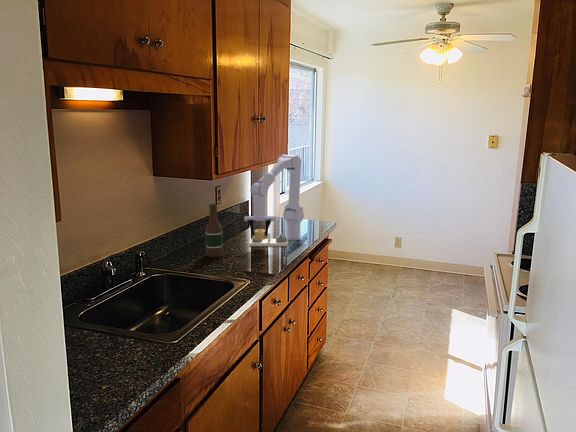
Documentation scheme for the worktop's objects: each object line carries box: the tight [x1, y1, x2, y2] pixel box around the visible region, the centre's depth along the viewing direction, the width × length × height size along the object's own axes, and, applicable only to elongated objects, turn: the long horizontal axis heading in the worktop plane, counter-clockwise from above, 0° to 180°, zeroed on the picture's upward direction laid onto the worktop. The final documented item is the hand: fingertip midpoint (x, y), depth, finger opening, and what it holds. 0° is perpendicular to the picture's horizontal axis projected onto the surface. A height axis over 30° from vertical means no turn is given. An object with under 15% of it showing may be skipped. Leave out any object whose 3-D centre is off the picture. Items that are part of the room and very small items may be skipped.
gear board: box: [249, 232, 289, 247], centre depth 243 cm, size 9×19×6 cm, turn 88°
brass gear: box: [254, 228, 267, 240], centre depth 235 cm, size 6×6×4 cm
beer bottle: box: [204, 203, 224, 258], centre depth 222 cm, size 8×8×24 cm
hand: (259, 235), depth 235 cm, fingers closed on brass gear, 6 cm apart
